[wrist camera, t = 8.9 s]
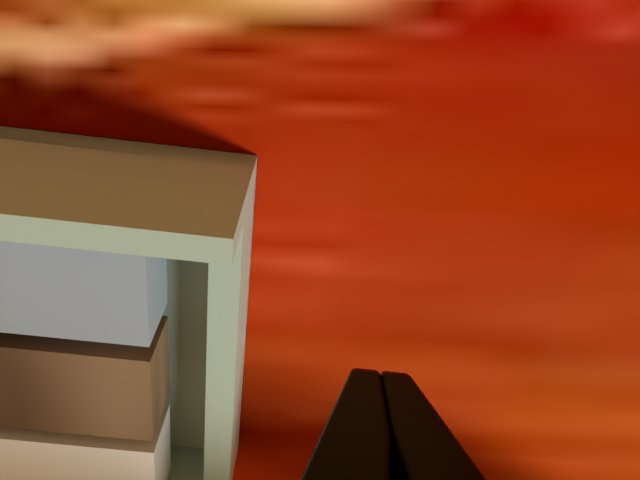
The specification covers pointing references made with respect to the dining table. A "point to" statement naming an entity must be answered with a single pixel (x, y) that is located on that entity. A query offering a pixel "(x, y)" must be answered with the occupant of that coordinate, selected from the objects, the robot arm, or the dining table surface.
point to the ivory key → (84, 455)
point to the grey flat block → (81, 294)
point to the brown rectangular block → (84, 385)
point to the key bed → (154, 241)
